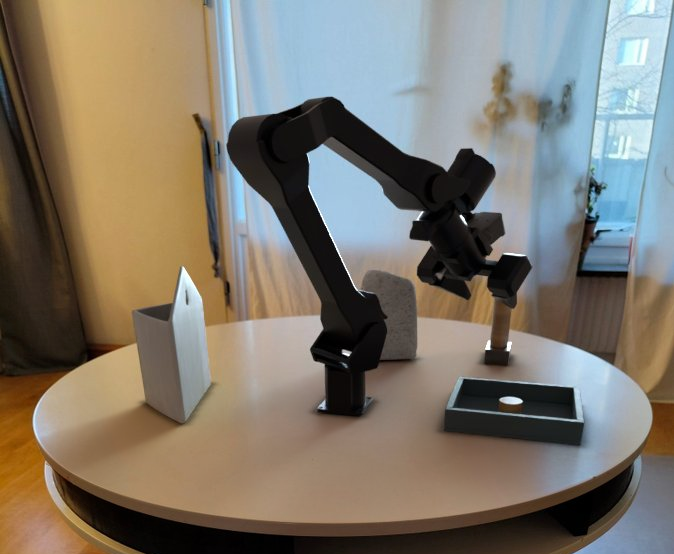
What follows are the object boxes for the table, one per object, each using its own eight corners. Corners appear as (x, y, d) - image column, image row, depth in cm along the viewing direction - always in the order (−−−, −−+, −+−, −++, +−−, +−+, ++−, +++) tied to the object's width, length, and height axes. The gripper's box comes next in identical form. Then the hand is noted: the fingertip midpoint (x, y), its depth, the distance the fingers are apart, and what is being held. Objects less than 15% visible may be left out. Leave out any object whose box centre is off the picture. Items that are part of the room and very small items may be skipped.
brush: (508, 365, 104) (517, 281, 98) (484, 363, 105) (491, 280, 99) (510, 355, 109) (518, 275, 103) (487, 354, 110) (494, 274, 104)
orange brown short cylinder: (520, 419, 81) (522, 405, 80) (497, 417, 82) (498, 403, 81) (521, 411, 83) (523, 397, 83) (498, 409, 84) (500, 395, 83)
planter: (162, 384, 97) (144, 257, 89) (211, 384, 97) (198, 257, 89) (126, 423, 83) (101, 276, 74) (185, 423, 82) (166, 276, 74)
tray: (580, 445, 74) (584, 422, 73) (443, 430, 79) (445, 409, 78) (576, 406, 86) (579, 386, 85) (457, 395, 91) (458, 376, 89)
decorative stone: (416, 353, 111) (420, 268, 105) (417, 363, 106) (421, 274, 99) (356, 352, 112) (356, 268, 106) (354, 362, 107) (354, 274, 100)
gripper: (532, 195, 84) (566, 268, 95) (431, 191, 97) (471, 256, 108) (491, 260, 83) (530, 327, 94) (395, 248, 96) (438, 308, 107)
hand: (491, 302), depth 101 cm, fingers open, 9 cm apart
